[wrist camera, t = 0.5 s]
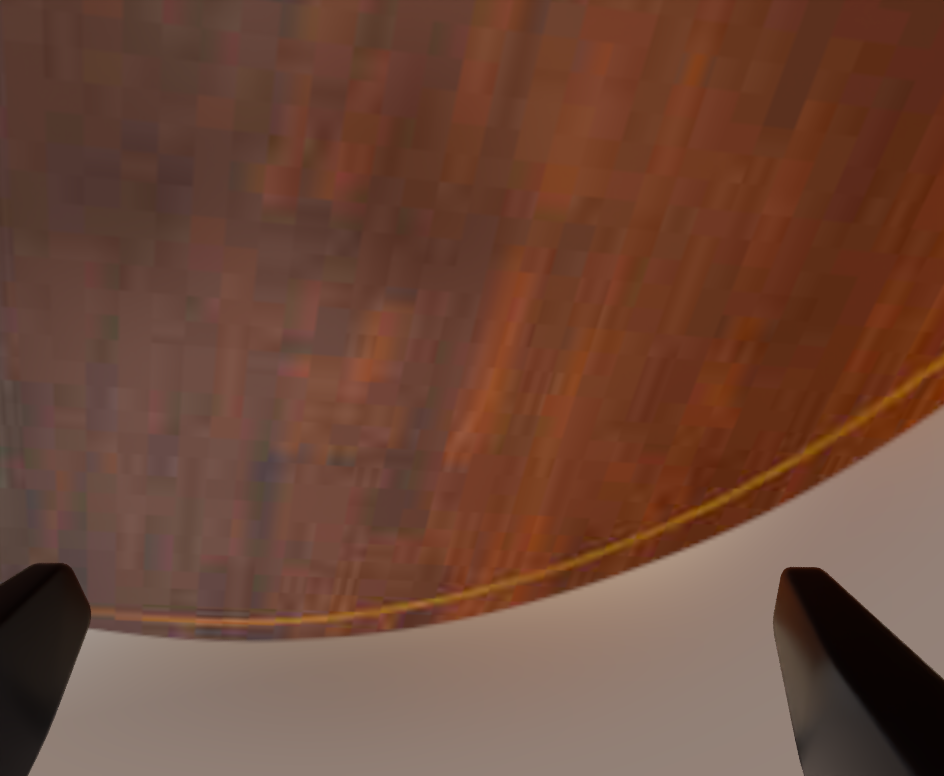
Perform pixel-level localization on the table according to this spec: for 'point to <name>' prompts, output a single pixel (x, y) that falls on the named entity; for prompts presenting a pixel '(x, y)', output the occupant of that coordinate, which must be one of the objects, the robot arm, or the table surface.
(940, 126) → the table surface
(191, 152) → the table surface
